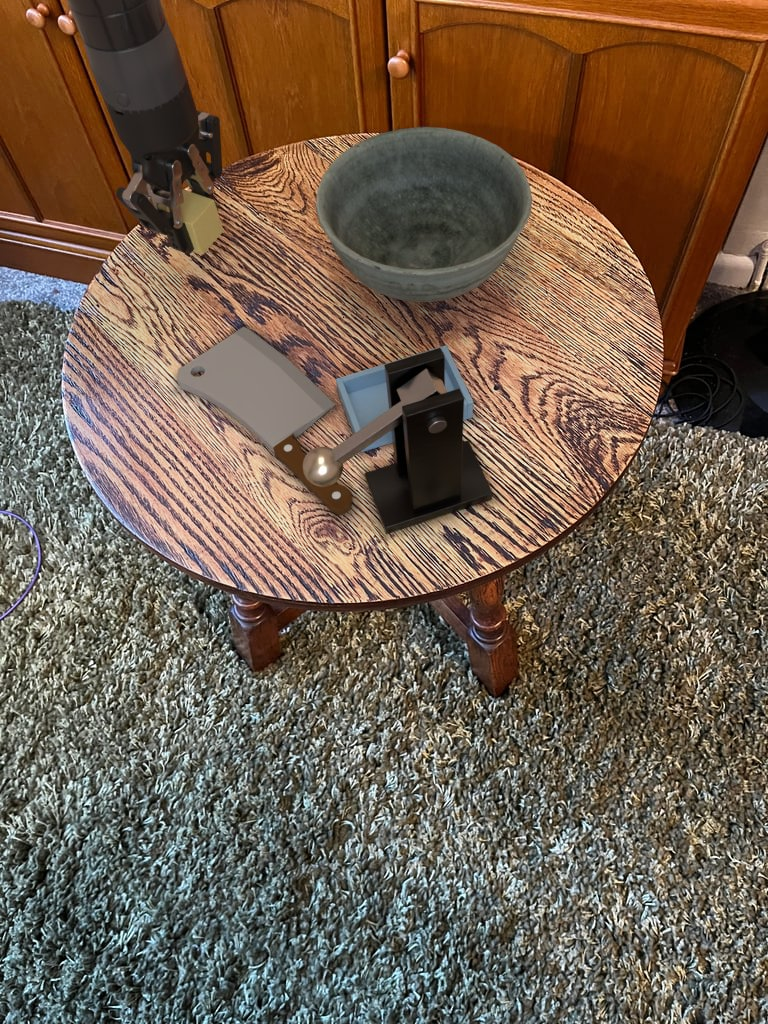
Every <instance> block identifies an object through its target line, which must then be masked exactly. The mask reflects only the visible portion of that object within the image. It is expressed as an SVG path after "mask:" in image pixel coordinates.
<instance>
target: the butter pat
mask: <svg viewBox="0 0 768 1024" xmlns="http://www.w3.org/2000/svg"><path fill="white" fill-rule="evenodd" d="M182 190H183V197H184V203H183V204H181V211H182V218H183V223H185V225H186V227H187V230H188V233H189V236H190V238H191V241H192V244H193V247H194V250H193V251H192V253H196V254H199V255H201V256H203V255H204V254H205V253H206V252H207V251H208V249H210V247H212V245H213V244H214V243H215V242H216V240H217V239H218V238H219V237H220V236H221V235H222V234H223V232H224V231H225V229H224V227H223V224H222V223H223V222H222V220H221V218H220V215H219V210H218V211H217V208H216V204H217V203H216V204H215V201H216V200H215V201H214V200H213V199H210V198H207V197H204V196H201V195H198V194H195V193H192V192H191V191H189V190H187V189H183V188H182ZM166 209H167V212H170V211H169V208H168V206H166Z"/></svg>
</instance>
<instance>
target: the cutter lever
mask: <svg viewBox="0 0 768 1024" xmlns="http://www.w3.org/2000/svg"><path fill="white" fill-rule="evenodd" d="M397 392H398V394H399V397H400V399H401V401H400V402H399V403H397V404H396V405H394V406H393V407H391V408H390V409H389V410H387V411H386V412H384V413H383V414H382V415H380V416H379V417H377V418H376V419H374V420H373V421H372V422H370V423H369V424H367V425H366V426H365V427H363V428H362V429H360V430H359V431H357V432H356V433H355V434H353V433H352V435H350V436H349V437H347V438H345V439H344V440H343V441H341V442H340V443H339V444H337V445H336V446H335V447H333V448H332V447H329V446H323V445H322V446H317V447H313V448H312V449H311V450H309V451H308V452H307V453H306V454H305V455H306V456H305V458H304V461H303V472H304V475H305V477H306V478H307V480H308V481H309V482H310V483H312V484H313V485H316V486H319V487H327V486H331V485H333V484H334V483H336V484H337V482H338V481H339V480H340V479H341V477H342V475H343V472H344V464H345V463H347V462H348V461H349V460H350V459H352V458H354V457H355V456H356V455H358V454H359V453H360V452H361V451H362V450H364V449H365V448H366V447H368V446H369V445H371V444H372V443H374V442H375V441H377V440H378V439H380V438H381V437H382V436H384V435H385V434H387V433H388V432H390V431H391V430H393V429H394V428H395V427H397V426H398V425H400V424H401V423H403V414H402V406H404V405H408V404H411V403H414V402H417V401H421V400H424V399H427V398H430V397H433V396H437V395H440V394H443V393H446V392H447V391H446V388H445V386H444V384H443V382H442V380H440V379H439V378H438V377H437V376H435V375H434V374H433V373H432V372H430V371H429V370H428V369H425V370H423V371H422V372H420V373H419V374H418V375H416V376H415V377H413V378H412V379H411V380H409V381H408V382H406V383H405V384H404V385H402V386H401V387H399V388H398V389H397ZM361 453H362V452H361Z"/></svg>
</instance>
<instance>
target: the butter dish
mask: <svg viewBox="0 0 768 1024" xmlns="http://www.w3.org/2000/svg"><path fill="white" fill-rule="evenodd" d="M437 348H441V350H442V352H443V354H444V356H445V388H446V391H447V392H450V391H453V390H456V389H460V390H461V393H462V395H463V397H464V418H463V421H466V420H470V419H472V418H474V400H473V398H472V395H471V394H470V391H469V389H468V387H467V385H466V383H465V381H464V379H463V376H462V375H461V373H460V371H459V368H458V366H457V364H456V362H455V360H454V358H453V356H452V354H451V352H450V349H449V348H448V345H442V346H439V347H435V348H431V349H429V350H425V351H421V352H419V353H416V354H412V355H409V356H405V357H403V358H399V359H396V360H393V361H390V362H387V363H383V364H380V365H376V366H373V367H370V368H367V369H363V370H360V371H357V372H353V373H350V374H347V375H344V376H341V377H338V378H335V385H336V388H337V395H338V397H339V400H340V403H341V405H342V408H343V410H344V413H345V416H346V419H347V421H348V424H349V426H350V430H351V432H352V435H353V434H355V433H356V432H357V431H359V430H360V429H362V428H363V427H365V426H366V425H367V424H369V423H370V422H372V421H373V420H374V419H376V418H377V417H379V416H380V415H382V414H383V413H384V412H386V411H387V410H389V403H388V394H387V385H386V376H385V367H384V365H385V364H388V363H391V362H395V361H398V360H401V359H404V358H408V357H411V356H414V355H418V354H421V353H424V352H427V351H431V350H434V349H437ZM389 444H390V445H391V444H393V439H392V430H391V431H390V432H388V433H387V434H385V435H384V436H382V437H381V438H380V439H378V440H377V441H375V442H374V443H372V444H371V445H369V446H368V447H366V448H365V449H364V450H362V451H361V452H359V453H364V452H368V451H370V450H374V449H377V448H380V447H384V446H387V445H389Z"/></svg>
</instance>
